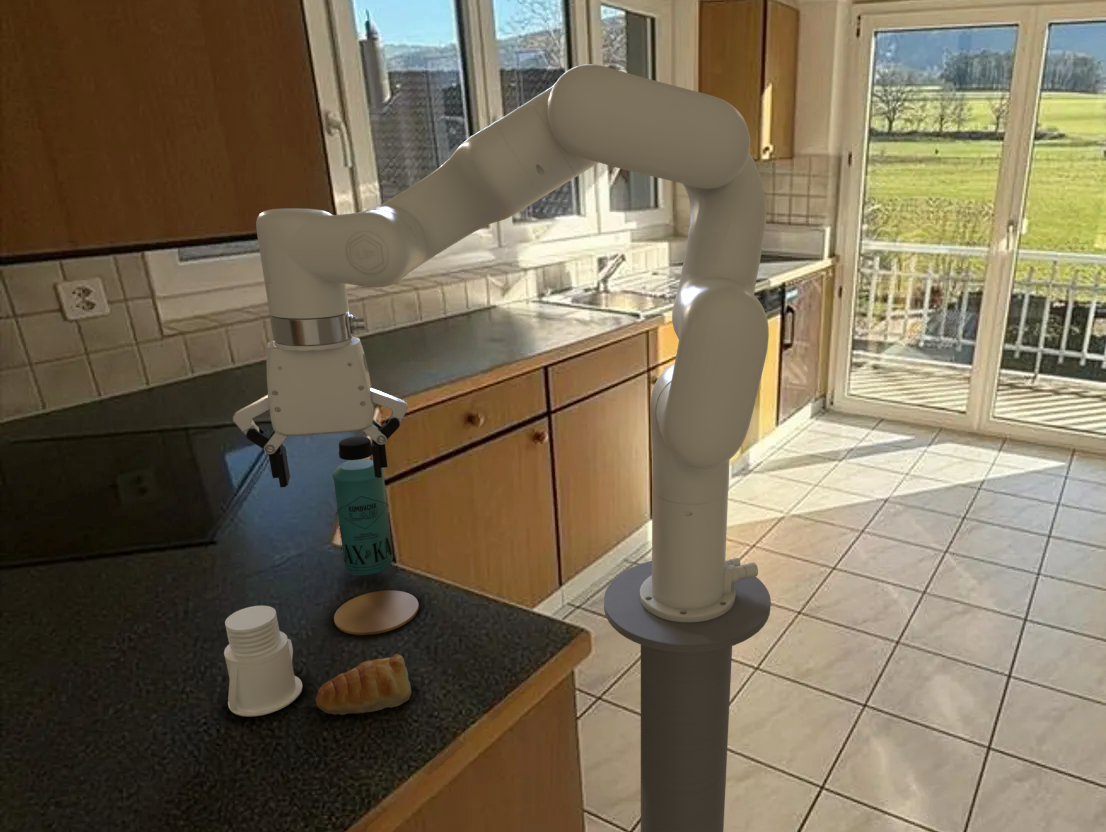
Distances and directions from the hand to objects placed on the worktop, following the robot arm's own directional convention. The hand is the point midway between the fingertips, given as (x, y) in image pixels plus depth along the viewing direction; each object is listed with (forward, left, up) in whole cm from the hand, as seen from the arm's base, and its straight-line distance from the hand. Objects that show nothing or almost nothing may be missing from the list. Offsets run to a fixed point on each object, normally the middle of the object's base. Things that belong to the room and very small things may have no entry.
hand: (332, 478), depth 89 cm
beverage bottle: (-3, -15, -21) cm, 26 cm away
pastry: (-1, +14, -21) cm, 25 cm away
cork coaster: (-3, -4, -21) cm, 21 cm away
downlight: (+9, +9, -21) cm, 25 cm away
